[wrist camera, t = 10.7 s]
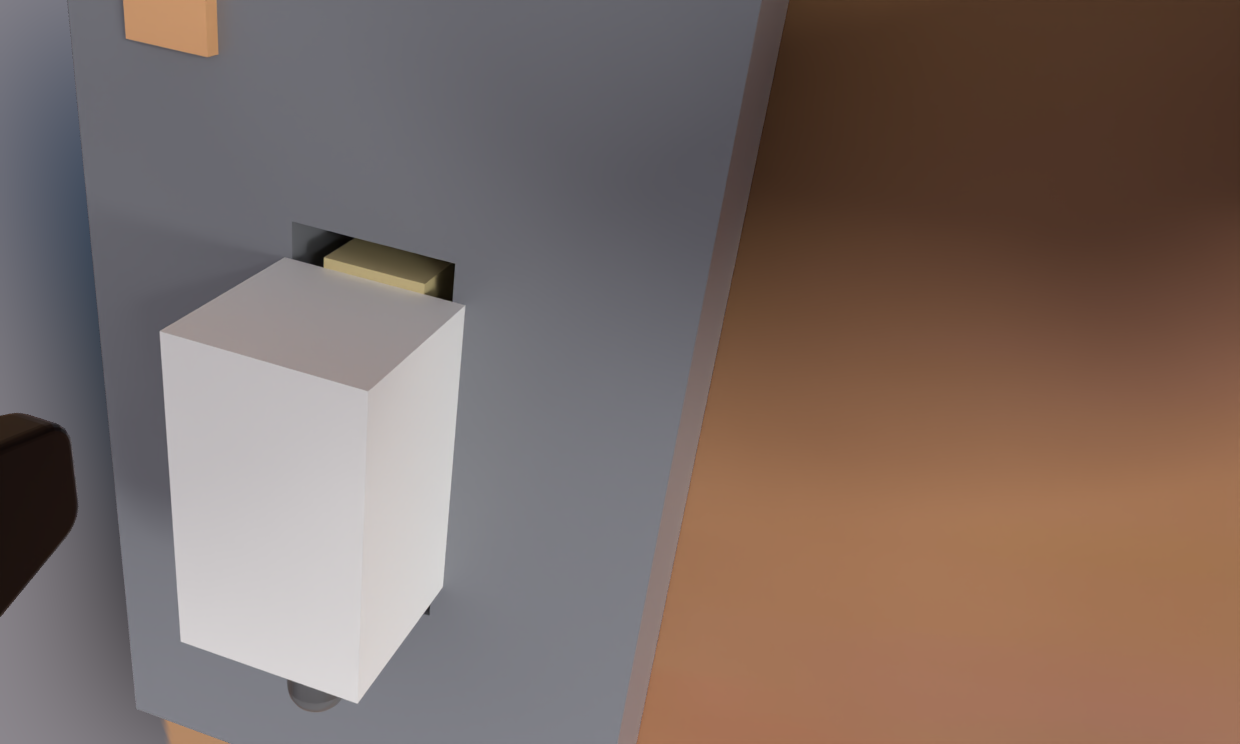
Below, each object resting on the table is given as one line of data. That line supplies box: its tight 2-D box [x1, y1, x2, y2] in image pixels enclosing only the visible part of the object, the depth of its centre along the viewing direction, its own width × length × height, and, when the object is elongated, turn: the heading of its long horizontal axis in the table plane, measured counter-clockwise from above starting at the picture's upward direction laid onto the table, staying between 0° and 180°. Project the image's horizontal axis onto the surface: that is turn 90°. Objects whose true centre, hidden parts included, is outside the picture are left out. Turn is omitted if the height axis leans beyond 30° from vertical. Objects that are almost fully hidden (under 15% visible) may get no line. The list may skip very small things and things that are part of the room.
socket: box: [67, 0, 789, 744], centre depth 22 cm, size 12×20×3 cm, turn 172°
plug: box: [160, 238, 465, 712], centre depth 21 cm, size 4×9×6 cm, turn 172°
